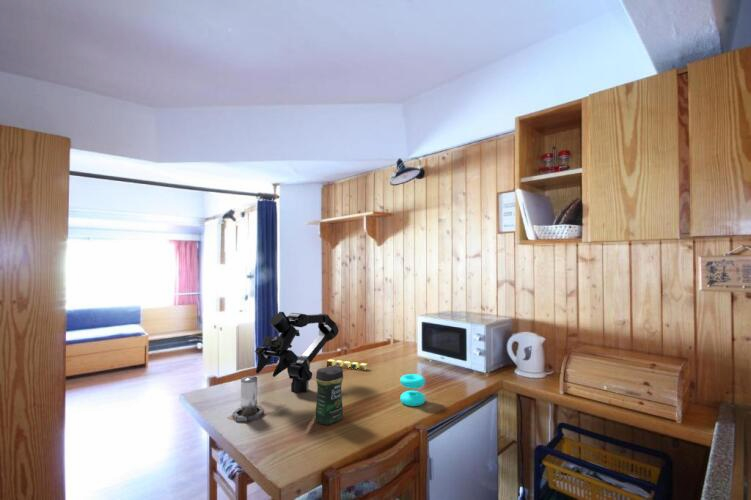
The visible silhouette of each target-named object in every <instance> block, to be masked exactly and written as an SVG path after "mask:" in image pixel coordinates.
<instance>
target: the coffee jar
mask: <svg viewBox="0 0 751 500" xmlns="http://www.w3.org/2000/svg"><path fill="white" fill-rule="evenodd" d="M343 370H344V368H343V367H340V366H337V365H333V366H330V367H329V366H327V367H323V368H319V369H317V370H316V374H315V376H316V377H315V381H316V384H317V392H316V393H317V394H316V404H315V405H316V406H315V412H314V413H315V414H314V415H315V417H314V419H315V421H316V422H317V423H319V424H321V425H327V426H329V425H331V424H334V423H336V422H338V421H340V420H341V419H343V417H344V408H343V397H342V395H343V393H342V384H343V381H344V371H343Z"/></svg>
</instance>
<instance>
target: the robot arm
mask: <svg viewBox="0 0 751 500" xmlns="http://www.w3.org/2000/svg"><path fill="white" fill-rule="evenodd" d="M269 324H270V326H271V327H273V329H274V330H275V331H276V332H277V333H279V336H278V335H276V336H275V337H271V336H263V337H264V338H263V341H262V344H261V345H262V346H258V347H257V348H256V349H255V351H254V352H255V354H256V355H257V358H258V359H257V365H256V369H255V373H256V375H259V373H260V372H262V370H263V369H264V368H265V367H266V366H267V365H268V364H269V363H270V360H271V358H274V357H275V358H278V363H277V365H276V367H275V369H274V370H273V373H272V377H273V378H275V377H277V376H278V375H280V373H282V372H283V371H285V370H287V374H288V377H289V378H288V379H291V380H292V382H291V383H290V385H291V387H290V392H292V393H294V394H295V393H296V394H303V393H307V392H309V390H310V389H309V381H310V380H312V378H313V373H312V372H311V370H310V369H311V362H313V360H314V359H315V357H316V356H317V355H318V354H319V353H320V351H321V350H322V348H323V347H324V346H325V345H326V344H327V343H328V342H330V341H331V340H332V341H333V339H335V338H336V337H337V336H338V334H339V327H338V325H337V323H336V322H335V321H334V320H333V319H331V317H330V316H329V314H327V313H319V314H318V313H317V314H305V313H300V312H299V313H297V312H290V313H289V314H288V315H287V316H286V314H285V311H278V313H275V314H274V315H272V317H270V319H269ZM309 324H310V325H311V324H317V328H318V335H317V337H316V338H315V339H314V340H313V341H312V343H311V344H310V345H309V346H308V347H307V349H306V350H305V351H304V352H303V354H301V356H300V355H297V354H296V353H295V352H294V351H293V350H290V349H291V348H292V347H293V345H292V342H294V339H295V337H301V334H300V330H299V329H297V328H304V327H306V326H308V325H309ZM267 347H268V348H267Z"/></svg>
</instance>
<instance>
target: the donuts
mask: <svg viewBox="0 0 751 500" xmlns="http://www.w3.org/2000/svg"><path fill="white" fill-rule="evenodd" d="M399 383H400V384H401V385H402V386H403V387H404V388H406V389H407V388H408V389H419V388H422V387H423V386H424V385H425V384H426V379H425V378H424V376H422V375H420V374H417V373H407V374H403V375H402V376H401V377H400V379H399ZM399 397H400V402H401V403H403V405H406V406H410V407H417V406H418V407H419V406H421V405H423V404H424V403H425V402H426V396H425V395H424V394H423V393H422V392H420V391H417V390H406V391H404V392H402V394H400V396H399Z"/></svg>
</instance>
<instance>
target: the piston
mask: <svg viewBox="0 0 751 500" xmlns="http://www.w3.org/2000/svg"><path fill="white" fill-rule="evenodd" d="M257 404H258V377H257V376H254V375H250V376H249V375H248V376H243V377H242V378H241V379H240V408H241V416H250V415H253V414H257Z"/></svg>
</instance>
